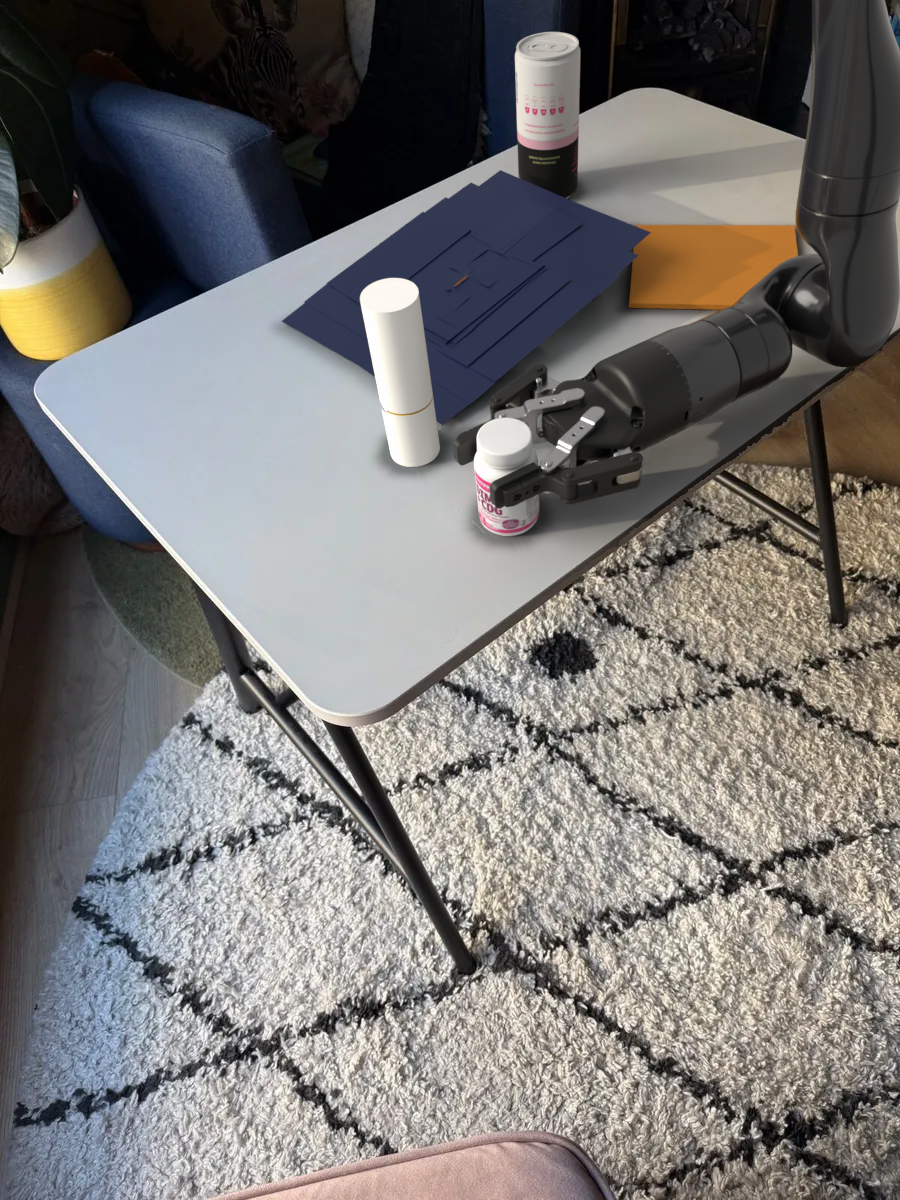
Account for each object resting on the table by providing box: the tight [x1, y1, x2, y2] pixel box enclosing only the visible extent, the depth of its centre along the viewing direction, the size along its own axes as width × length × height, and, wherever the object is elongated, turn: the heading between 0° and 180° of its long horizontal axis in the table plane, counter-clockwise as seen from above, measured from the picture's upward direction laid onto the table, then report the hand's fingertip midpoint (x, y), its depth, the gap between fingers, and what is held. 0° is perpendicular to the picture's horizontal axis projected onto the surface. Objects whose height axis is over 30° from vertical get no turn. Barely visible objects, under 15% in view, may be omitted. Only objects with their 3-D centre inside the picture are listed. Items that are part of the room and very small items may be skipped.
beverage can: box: [514, 31, 581, 199], centre depth 93 cm, size 6×6×15 cm
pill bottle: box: [473, 418, 540, 537], centre depth 66 cm, size 5×5×8 cm
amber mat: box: [628, 224, 799, 311], centre depth 87 cm, size 16×14×1 cm
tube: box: [360, 278, 441, 468], centre depth 69 cm, size 4×4×15 cm
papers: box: [281, 169, 651, 426], centre depth 86 cm, size 24×30×4 cm
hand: (474, 474), depth 64 cm, fingers closed on pill bottle, 4 cm apart
